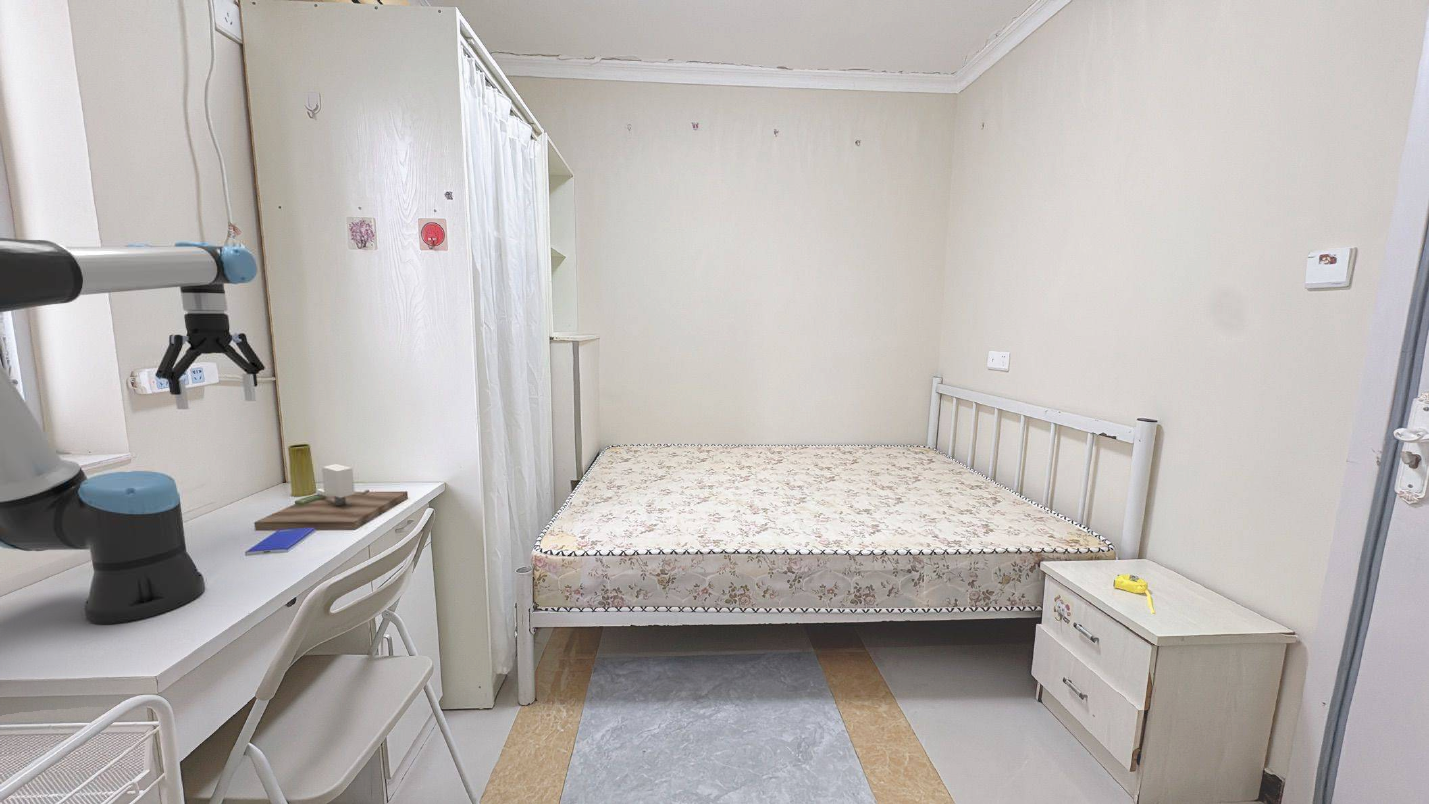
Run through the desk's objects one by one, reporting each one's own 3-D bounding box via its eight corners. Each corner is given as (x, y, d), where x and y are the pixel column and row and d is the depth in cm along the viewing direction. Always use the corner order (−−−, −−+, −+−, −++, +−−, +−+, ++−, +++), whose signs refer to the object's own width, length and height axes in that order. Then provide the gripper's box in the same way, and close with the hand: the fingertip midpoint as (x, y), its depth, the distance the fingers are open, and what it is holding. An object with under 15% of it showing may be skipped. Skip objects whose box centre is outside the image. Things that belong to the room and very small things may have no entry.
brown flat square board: (354, 529, 136) (353, 517, 135) (255, 530, 136) (253, 518, 135) (407, 498, 159) (407, 488, 159) (323, 498, 159) (322, 488, 159)
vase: (309, 489, 168) (304, 442, 166) (321, 491, 166) (316, 444, 164) (286, 494, 163) (281, 446, 161) (298, 497, 160) (293, 448, 158)
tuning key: (356, 505, 147) (352, 467, 145) (341, 509, 144) (337, 471, 142) (326, 495, 155) (322, 460, 153) (311, 499, 152) (307, 463, 150)
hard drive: (276, 530, 133) (244, 551, 121) (315, 527, 135) (287, 547, 123) (277, 536, 133) (245, 557, 121) (316, 533, 135) (288, 554, 123)
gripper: (255, 313, 141) (265, 396, 144) (124, 312, 118) (139, 411, 121) (275, 313, 138) (285, 398, 141) (145, 311, 115) (161, 413, 118)
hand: (218, 404), depth 131 cm, fingers open, 13 cm apart
